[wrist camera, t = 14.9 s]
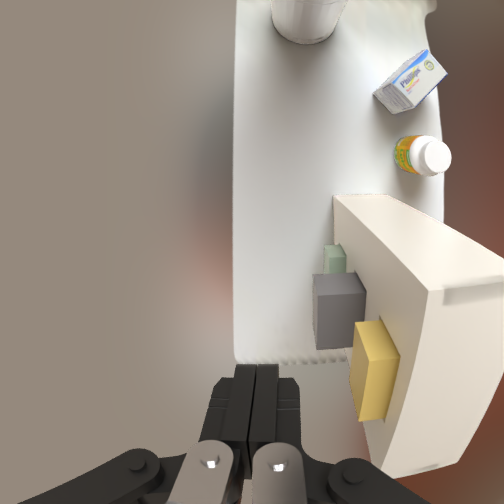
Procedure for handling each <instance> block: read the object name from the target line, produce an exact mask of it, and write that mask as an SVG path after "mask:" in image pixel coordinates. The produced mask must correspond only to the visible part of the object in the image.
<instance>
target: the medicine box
mask: <svg viewBox="0 0 504 504" xmlns="http://www.w3.org/2000/svg"><path fill="white" fill-rule="evenodd" d="M446 76H447V72H446V71H445V70H444V69H443V68H442V67H441V65H440V64H439V63H438V62H437V60H436V59H435V58H434V57H433V56H432V55H431V54H430V53H429V51H428V50H427V49H425V50H423V51H421V52H420V53H418V54H417V55H415V56H414V57H412V58H410V59H409V60H407V61H406V62H405V63H403V64H402V65H401V66H400V67H399V68H398V69H397V70H396V71H395V72H394V73H393V74H392V75H391V76H390V77H389V78H388V79H387V80H386V81H385V82H384V83H383V84H382V85H381V86H380V87H379V88H378V89H377V90H376V91H374V92H373V94H374V95H375V96H376V97H377V98H378V99H379V100H380V101H381V102H382V104H383V105H384V106H385V107H386V108H387V109H388V110H389V111H390V112H391V113H392V114H396V113H400V112H403V111H406V110H410V109H413V108H415V107H416V106H417V105H418V104H419V103H420V102H421V101H422V100H423V99H424V98H425V97H426V96H427V95H428V94H429V93H430V92H431V91H432V90H433V89H434V88H435V87H436V86H437V85H438V84H439V83H440V82H441V81H442V80H443V79H444V77H446Z"/></svg>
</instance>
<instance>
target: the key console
mask: <svg viewBox="0 0 504 504" xmlns="http://www.w3.org/2000/svg"><path fill="white" fill-rule="evenodd" d="M333 210H334V245H341V247H342V248H343V250H344V252H345V253H346V255H347V258H346V273H353V272H356V273H357V274H358V276H359V278H360V280H361V282H362V283H363V285H364V287H365V289H366V291H367V295H366V308H365V319H364V321H375V320H382V321H383V322H384V324H385V326H386V328H387V330H388V332H389V334H390V336H391V338H392V340H393V342H394V344H395V346H396V348H397V350H398V352H399V354H400V356H401V358H400V363H399V367H398V372H397V376H396V381H395V385H394V389H393V393H392V397H391V401H390V405H389V408H388V412H387V416H386V418H383V419H376V420H368V421H363V425H364V429H365V434H366V438H367V443H368V447H369V452H370V457H371V462H372V464H373V465H374V466H376V467H377V468H379V469H380V470H381V471H383V472H384V473H386V474H387V475H388V476H390V477H391V478H393V479H394V478H399V477H403V476H408V475H413V474H417V473H421V472H425V471H429V470H433V469H437V468H440V467H443V466H447V465H450V464H454V463H457V462H458V460H459V459H460V457H461V455H462V454H463V452H464V451H465V449H466V447H467V445H468V444H469V442H470V440H471V438H472V437H473V435H474V433H475V431H476V429H477V428H478V426H479V424H480V422H481V420H482V418H483V416H484V414H485V412H486V410H487V408H488V406H489V404H490V402H491V400H492V397H493V395H494V393H495V391H496V388H497V386H498V384H499V382H500V379H501V377H502V374H503V372H504V259H503V258H501V257H500V256H498V255H496V254H495V253H493V252H491V251H490V250H488V249H486V248H484V247H483V246H482V245H480V244H478V243H477V242H475V241H473V240H471V239H470V238H468V237H466V236H464V235H463V234H461V233H459V232H457V231H456V230H454V229H452V228H450V227H449V226H447V225H445V224H443V223H441V222H439V221H438V220H436V219H434V218H432V217H430V216H428V215H426V214H424V213H423V212H421V211H419V210H417V209H415V208H413V207H411V206H409V205H407V204H405V203H403V202H401V201H399V200H397V199H395V198H393V197H391V196H389V195H386V194H357V195H333ZM344 349H345V353H346V357H347V360H348V364H349V368H351V359H352V350H353V347H350V348H344Z"/></svg>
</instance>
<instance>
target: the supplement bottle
mask: <svg viewBox="0 0 504 504" xmlns="http://www.w3.org/2000/svg"><path fill="white" fill-rule="evenodd" d="M394 159H395V161H396V163H397V165H398V166H399V167H400V168H401V169H403V170H404V171H407V172H411V173H415V174H419V175H423V176H434V175H437V174H438V173H442V172H444V171H446V170H447V169H448V167H449V165H450V163H451V153H450V150H449V148H448V147H447V145H446V144H444V143H443V142H441V141H439V140H437V139H436V138H434V137H432V136H428V135H420V136H405V137H403V138H401V139H399V140H398V141H397V143H396V145H395V147H394Z"/></svg>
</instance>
